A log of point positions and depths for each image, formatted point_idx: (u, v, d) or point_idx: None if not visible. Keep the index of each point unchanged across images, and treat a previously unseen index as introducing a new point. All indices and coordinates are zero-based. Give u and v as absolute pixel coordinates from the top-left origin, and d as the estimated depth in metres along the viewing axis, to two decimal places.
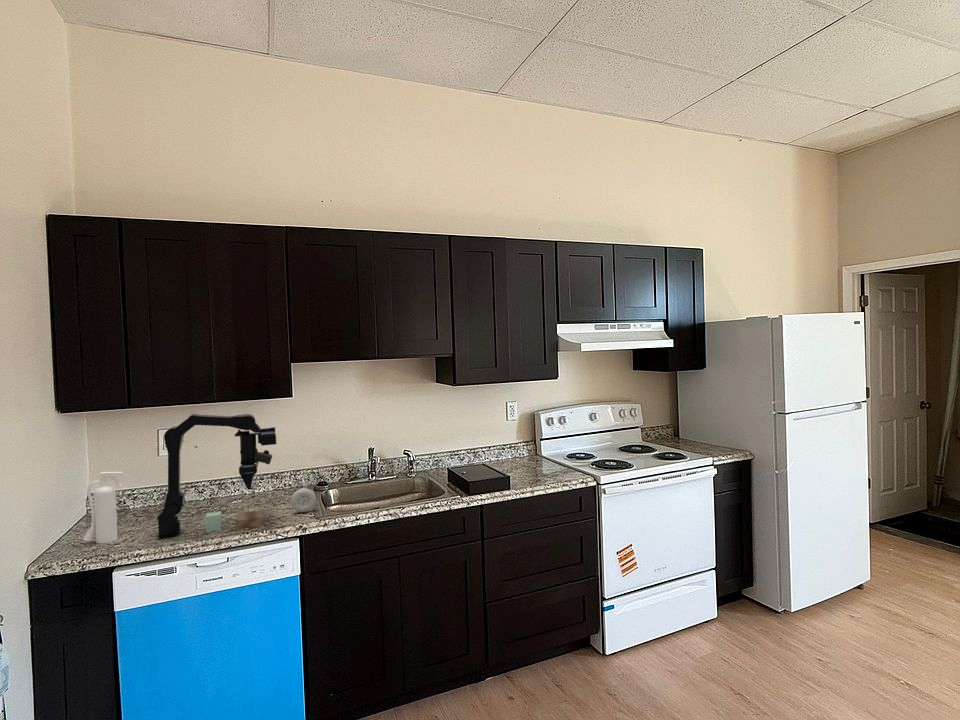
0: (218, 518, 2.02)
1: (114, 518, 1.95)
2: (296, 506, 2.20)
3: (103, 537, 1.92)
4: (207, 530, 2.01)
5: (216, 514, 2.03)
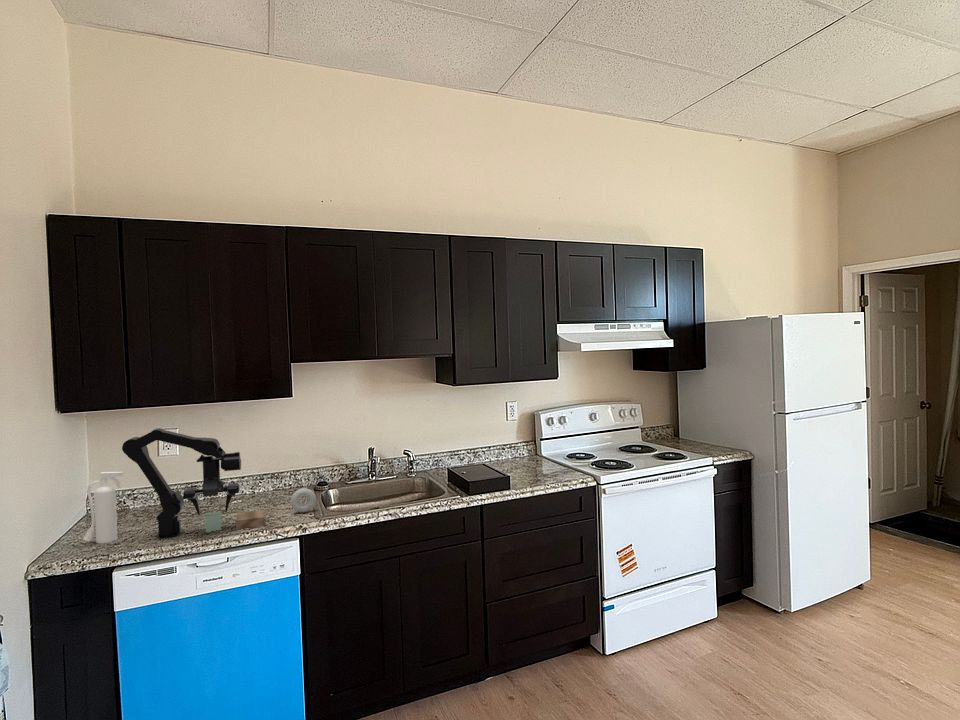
0: (218, 518, 2.02)
1: (114, 518, 1.95)
2: (296, 506, 2.20)
3: (103, 537, 1.92)
4: (207, 530, 2.01)
5: (216, 514, 2.03)
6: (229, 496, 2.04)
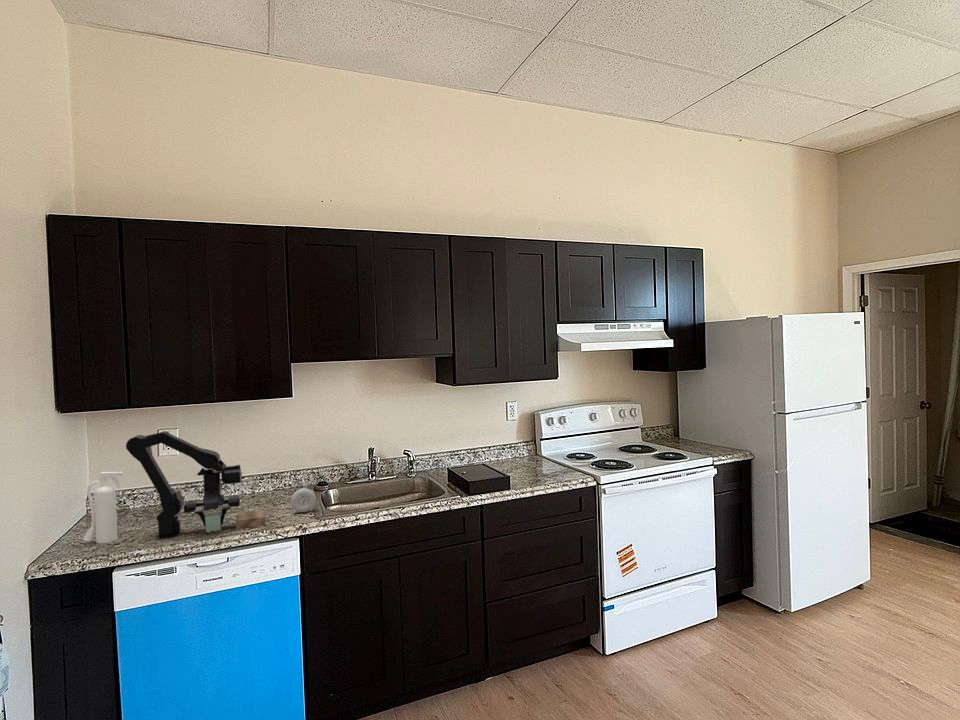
0: (218, 518, 2.02)
1: (114, 518, 1.95)
2: (296, 506, 2.20)
3: (103, 537, 1.92)
4: (207, 530, 2.01)
5: (216, 514, 2.03)
6: (224, 510, 2.03)
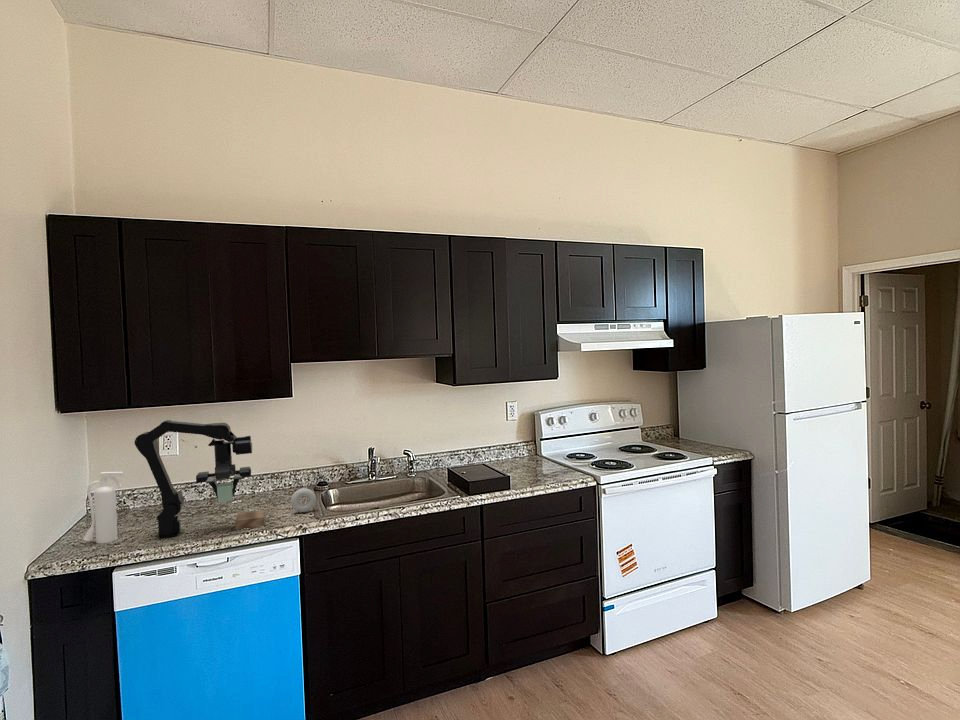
0: (230, 488, 2.04)
1: (114, 518, 1.95)
2: (296, 506, 2.20)
3: (103, 537, 1.92)
4: (219, 500, 2.02)
5: (228, 484, 2.05)
6: (236, 480, 2.04)
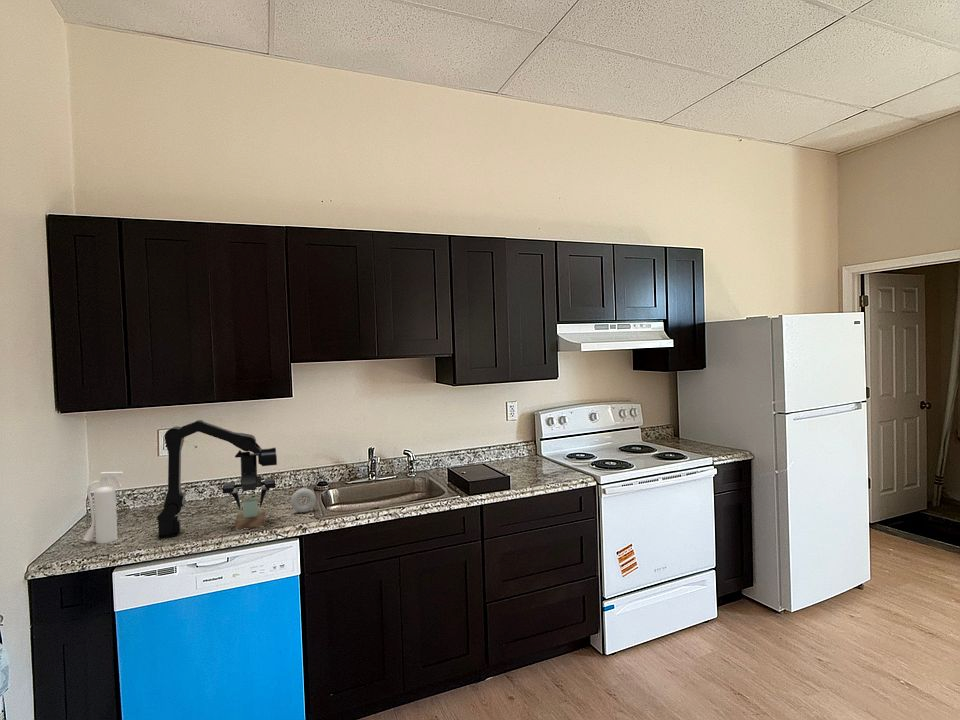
0: (255, 504, 2.07)
1: (114, 518, 1.95)
2: (296, 506, 2.20)
3: (103, 537, 1.92)
4: (244, 515, 2.06)
5: (253, 500, 2.08)
6: (264, 491, 2.08)
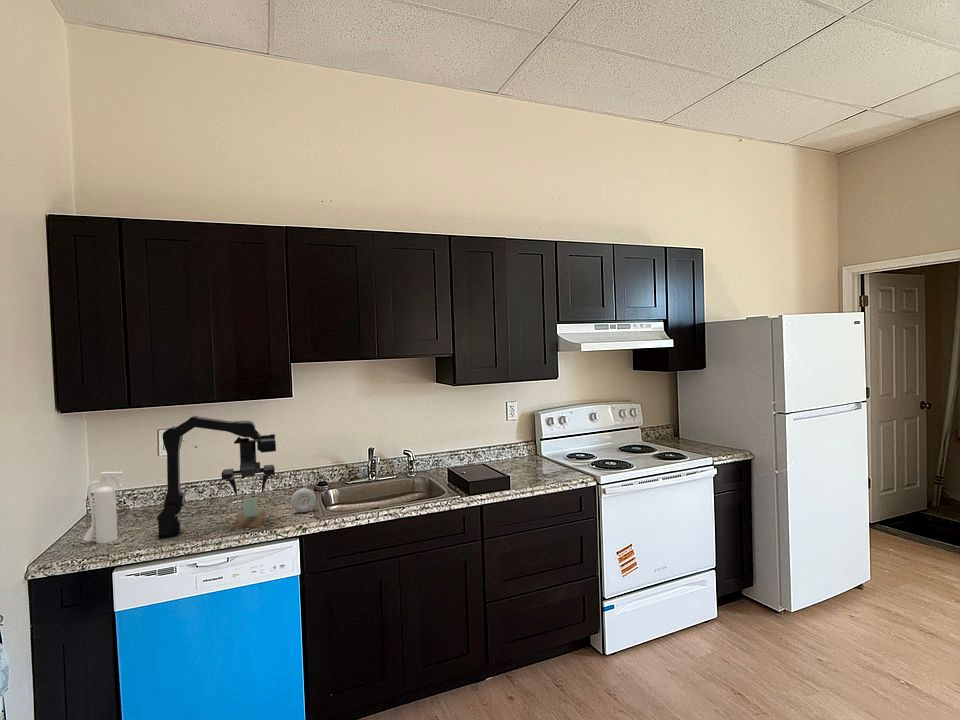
0: (255, 504, 2.07)
1: (114, 518, 1.95)
2: (296, 506, 2.20)
3: (103, 537, 1.92)
4: (245, 515, 2.06)
5: (253, 500, 2.08)
6: (265, 477, 2.08)
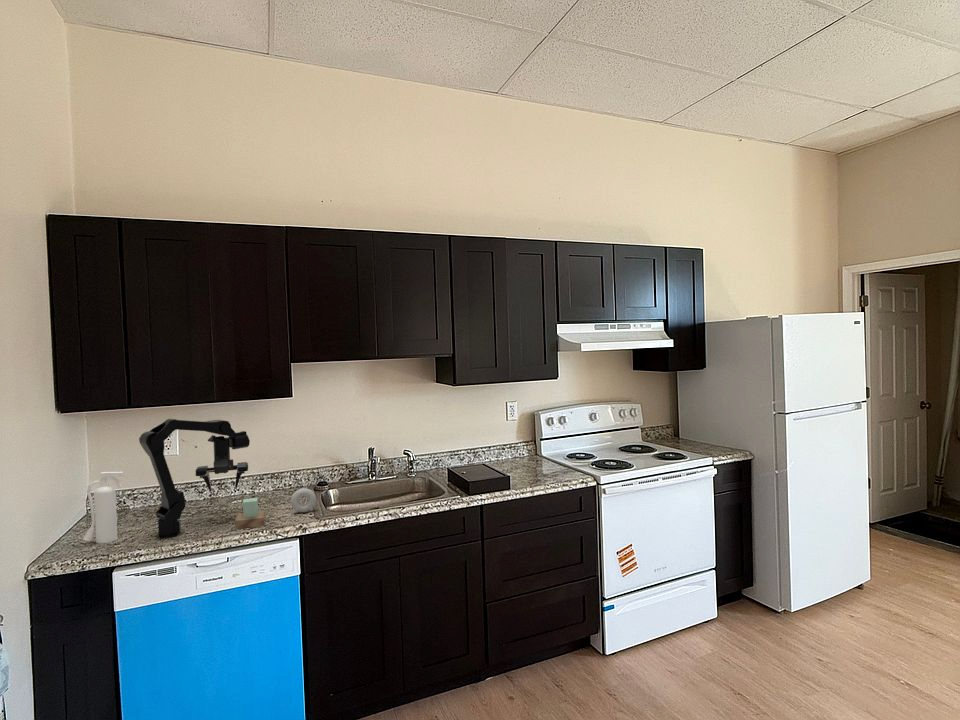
0: (255, 504, 2.07)
1: (114, 518, 1.95)
2: (296, 506, 2.20)
3: (103, 537, 1.92)
4: (244, 515, 2.06)
5: (253, 500, 2.08)
6: (239, 474, 2.15)
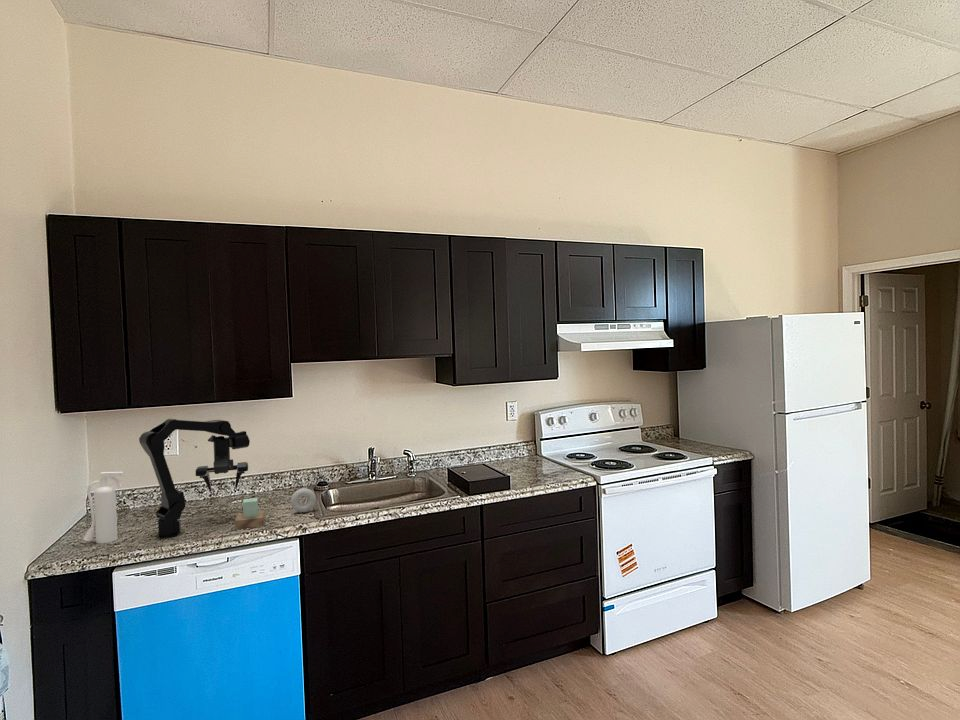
0: (255, 504, 2.07)
1: (114, 518, 1.95)
2: (296, 506, 2.20)
3: (103, 537, 1.92)
4: (245, 515, 2.05)
5: (253, 500, 2.08)
6: (239, 474, 2.15)
